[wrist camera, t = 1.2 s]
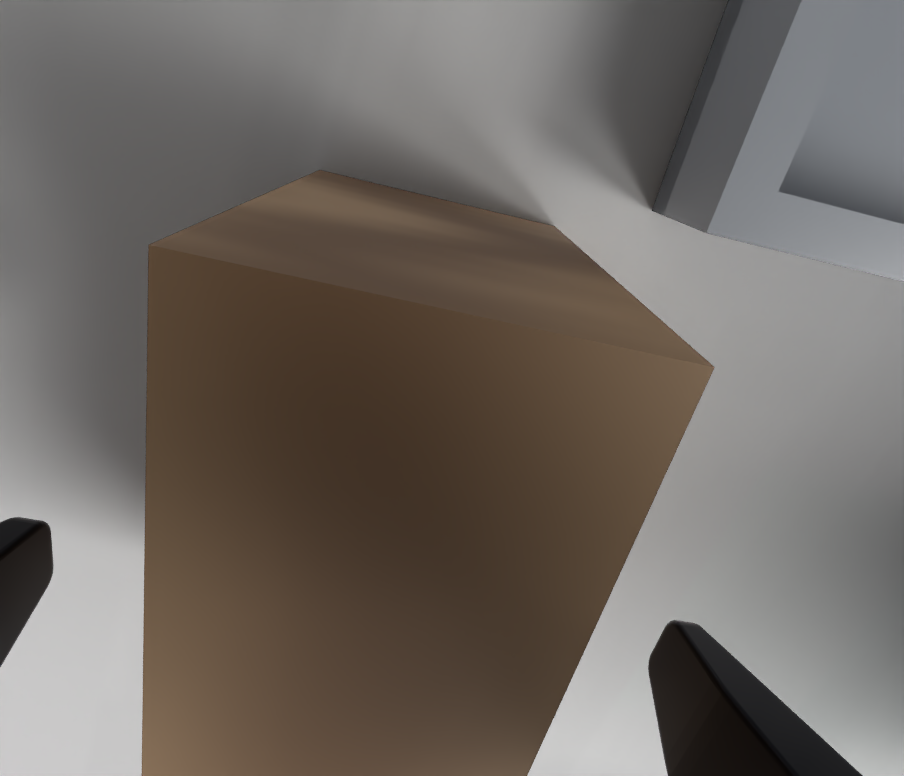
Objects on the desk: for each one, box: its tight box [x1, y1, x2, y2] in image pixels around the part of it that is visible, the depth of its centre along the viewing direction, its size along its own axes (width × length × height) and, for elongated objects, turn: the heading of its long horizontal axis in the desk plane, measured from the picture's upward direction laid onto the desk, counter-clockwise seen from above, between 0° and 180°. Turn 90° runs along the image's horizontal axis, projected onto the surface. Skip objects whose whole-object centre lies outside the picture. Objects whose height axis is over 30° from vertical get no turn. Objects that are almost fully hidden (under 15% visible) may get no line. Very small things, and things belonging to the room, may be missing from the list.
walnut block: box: [142, 170, 714, 776], centre depth 10 cm, size 4×10×7 cm, turn 167°
